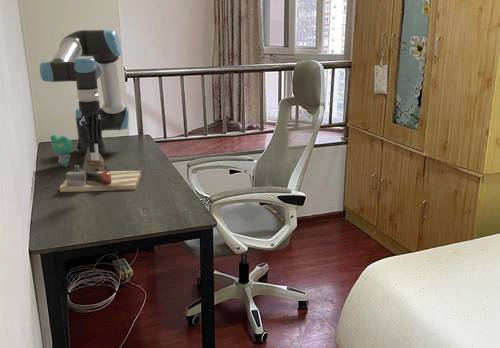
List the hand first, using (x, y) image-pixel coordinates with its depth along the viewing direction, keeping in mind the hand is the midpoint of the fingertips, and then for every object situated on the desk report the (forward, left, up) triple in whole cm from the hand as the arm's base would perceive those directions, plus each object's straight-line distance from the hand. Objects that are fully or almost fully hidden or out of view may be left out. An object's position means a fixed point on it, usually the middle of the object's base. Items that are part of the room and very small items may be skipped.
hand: (95, 159), depth 195 cm
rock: (-30, -8, -14) cm, 34 cm away
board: (-12, -1, -14) cm, 18 cm away
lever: (-9, -3, -12) cm, 15 cm away
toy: (-39, -24, -14) cm, 48 cm away
